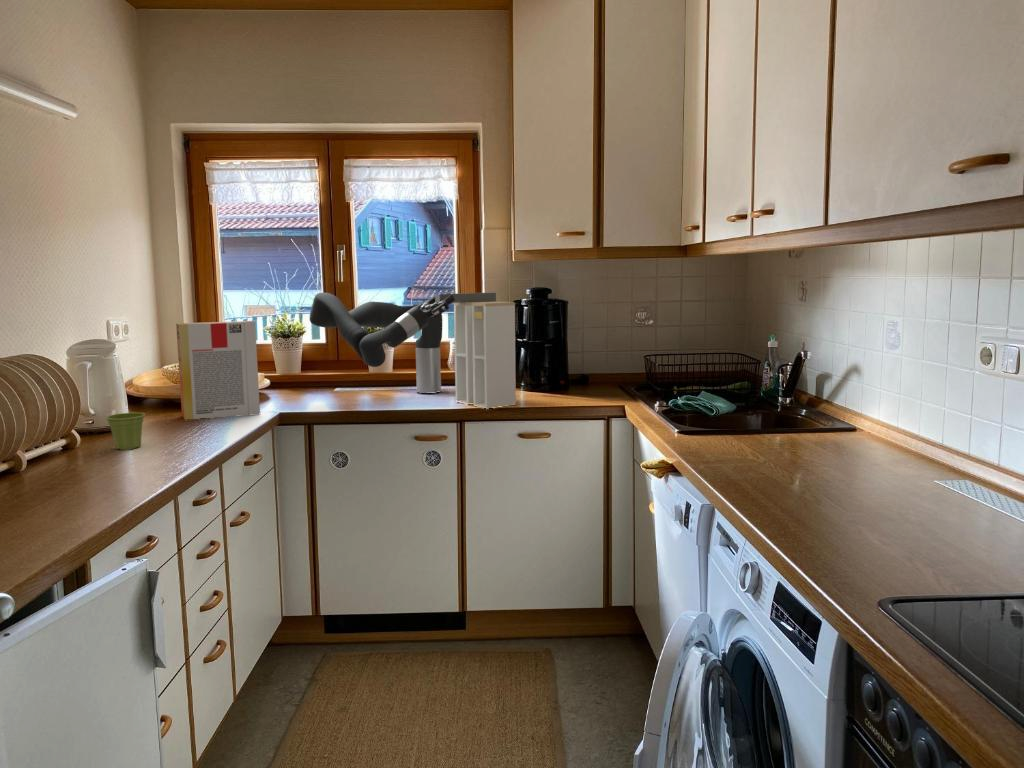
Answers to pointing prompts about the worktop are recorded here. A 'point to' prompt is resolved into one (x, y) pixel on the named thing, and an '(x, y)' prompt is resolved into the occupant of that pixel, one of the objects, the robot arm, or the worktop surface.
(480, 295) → the slat
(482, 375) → the rack
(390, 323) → the robot arm
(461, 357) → the rack
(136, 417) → the plant pot
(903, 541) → the worktop surface
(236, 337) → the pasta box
